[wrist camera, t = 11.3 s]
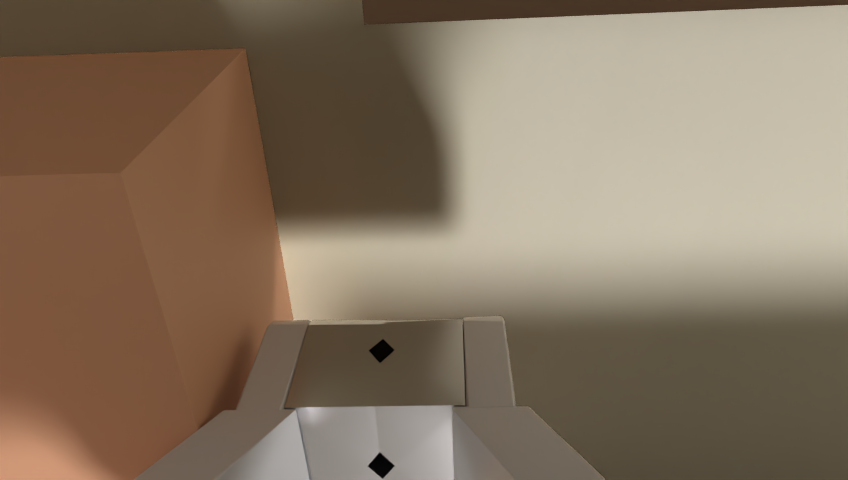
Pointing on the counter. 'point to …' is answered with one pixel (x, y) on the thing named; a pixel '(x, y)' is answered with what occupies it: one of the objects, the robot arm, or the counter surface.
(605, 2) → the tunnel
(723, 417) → the counter surface
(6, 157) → the block
